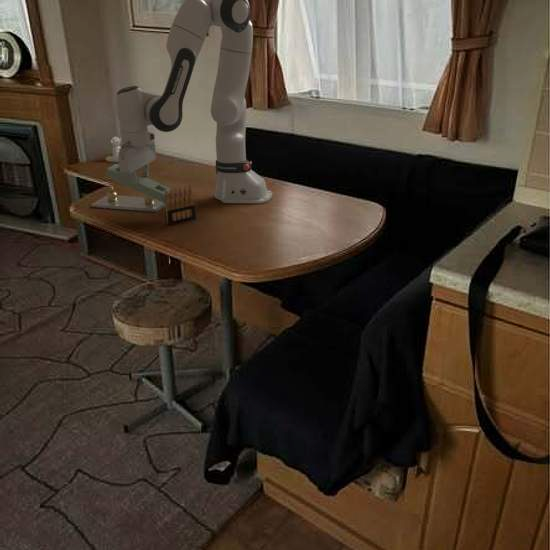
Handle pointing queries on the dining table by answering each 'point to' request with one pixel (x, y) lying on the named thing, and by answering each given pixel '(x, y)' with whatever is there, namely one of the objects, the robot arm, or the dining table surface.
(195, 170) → the dining table surface
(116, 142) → the sitting furry creature
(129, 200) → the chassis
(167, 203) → the ammunition clip
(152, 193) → the board
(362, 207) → the dining table surface
